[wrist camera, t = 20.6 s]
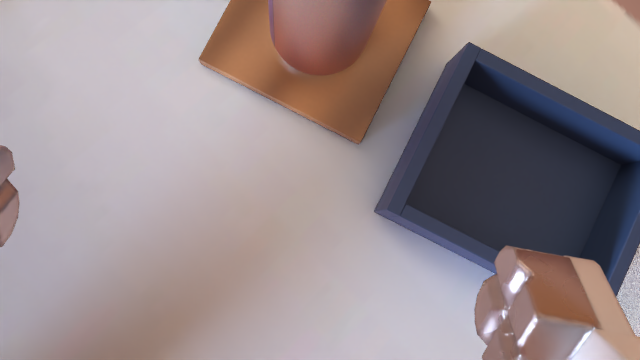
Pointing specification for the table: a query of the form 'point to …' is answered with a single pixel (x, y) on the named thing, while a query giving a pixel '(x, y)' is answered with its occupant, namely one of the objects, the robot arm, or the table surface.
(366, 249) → the table surface
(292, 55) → the beverage can
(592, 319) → the robot arm
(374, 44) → the coaster
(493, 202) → the open storage box
